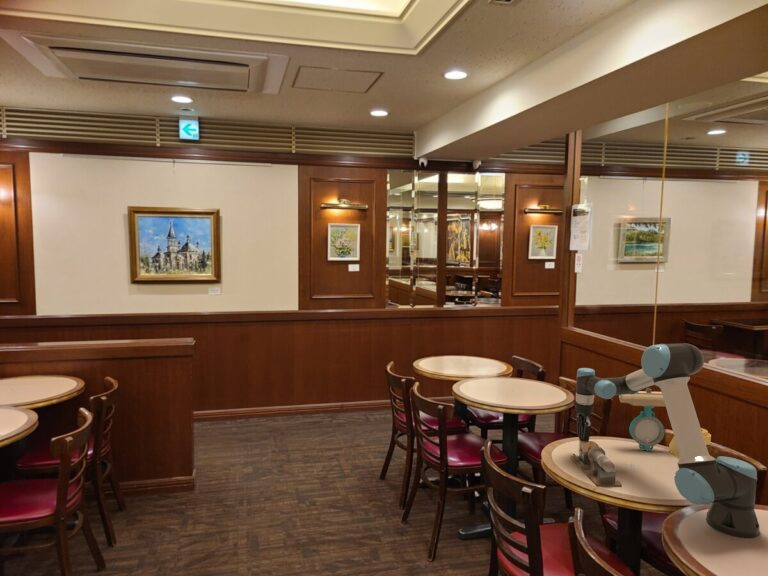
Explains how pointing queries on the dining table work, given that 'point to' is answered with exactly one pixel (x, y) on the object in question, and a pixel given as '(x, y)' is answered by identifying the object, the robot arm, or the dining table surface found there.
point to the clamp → (674, 447)
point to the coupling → (586, 451)
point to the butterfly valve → (645, 418)
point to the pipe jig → (598, 468)
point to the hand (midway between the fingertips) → (582, 453)
